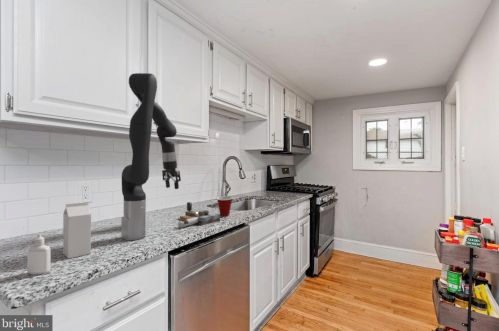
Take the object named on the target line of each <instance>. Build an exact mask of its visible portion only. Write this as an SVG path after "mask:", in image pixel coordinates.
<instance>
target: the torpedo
mask: <svg viewBox="0 0 499 331" xmlns="http://www.w3.org/2000/svg"><path fill="white" fill-rule="evenodd" d="M197 223H198V217H195V218H190V219H186V220H184V221H183V220H179V221H178V223H177V227H179V228H181V229H182V228H184V227H188V226H192V225H198V224H197Z"/></svg>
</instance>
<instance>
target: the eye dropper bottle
mask: <svg viewBox="0 0 499 331" xmlns="http://www.w3.org/2000/svg"><path fill="white" fill-rule="evenodd" d="M26 260H27V270H26V272H27V274H29V275H44V274H47V273H49V272H50V270H51V247H50V246H49V245H46V244H45V237H43V236H42V234H41V233H38V234H37V235H36V237H35V238H33V246H31V247H29V248H28V249H27V259H26Z"/></svg>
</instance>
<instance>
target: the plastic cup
mask: <svg viewBox="0 0 499 331" xmlns="http://www.w3.org/2000/svg"><path fill="white" fill-rule="evenodd" d="M233 199H234V197H233V196H230V195H229V196H228V195H226V196H225V195H224V196H217V197H216V200H217V203H218V211H219V214H220V217H228V216H230V212H231V207H232V202H233Z"/></svg>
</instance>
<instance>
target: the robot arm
mask: <svg viewBox="0 0 499 331" xmlns="http://www.w3.org/2000/svg"><path fill="white" fill-rule="evenodd" d="M128 85H129V88H130V90H131V92H132V93H133V95H135V97H136V98H137V99H138V100H139V102H140V103H141V104H140V105H139V107H138V108H137V109H136V111H135V112H134V113H133V115H132V117H131V118H130V122H129V128H128V129H129V131H128V137H129V141H130V142H129V143H130V145H131V150H132V157H131V159H132V160H131V164H128V165H126V166H125V167H123V169H122V171H121V194H122V196H123V216H121V224H120V225H121V228H120V229H121V232H120V234H121V237H120V238H121V239H122V240H125V241H127V242H128V241H138V240H141V239H144V238H146V232H147V231H146V222H147V220H146V213H147V212H146V211H147V209H146V207H147V205H146V204H147V202H146V201H147V200H146V199H147V195H146V192H145V191H144V189H143V185H144V184H146V183H147V181H148V180H149V178H150V150H151V149H150V148H151V137H152V128H153V122H154V124H155V125H156V135H157V137H158V140H159V143H160V145H161V153H162V154H161V160H162V167H163V168H162V171H161V172H162V180H163V181H164V182H165V188H166V189H168V188H170V187H171V184H170V180H172V181H173V182H174V183H173V184H174V189H175V190H178V189H179V188H180V187H179V186H180V185H179V182H181V181H182V180H181V171H180V170H176V169H177V168H178V163H177V162H178V161H177V154H176V149H175V142H173V141H170V140H169V141H168V140H167V139H166V138H168V139H169V138H174V137H176V136H177V132H178V131H177V128H176V125H175V124H173V122H171V121H170V119H169V118H168V116H167V114H166V112H165V111H164V109H163V108H162V106H161V105H160V104H158V102H156V97H157V96H156V95H157V90H158V89H157V88H158V82H157V77H156V76H155V74H153V73H148V72H145V73H144V72H143V73H141V72H139V73H137V72H136V73H132V74H130V75H129V77H128Z"/></svg>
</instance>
